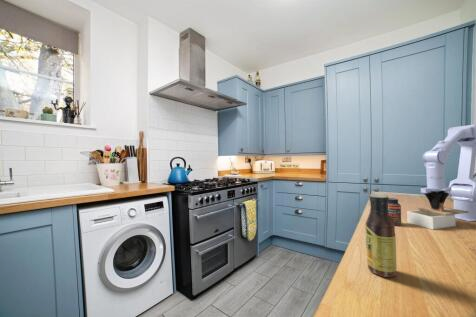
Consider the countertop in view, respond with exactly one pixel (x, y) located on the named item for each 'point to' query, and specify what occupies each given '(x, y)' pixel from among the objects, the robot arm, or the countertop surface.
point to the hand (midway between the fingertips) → (436, 208)
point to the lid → (443, 210)
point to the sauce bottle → (380, 238)
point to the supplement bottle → (394, 211)
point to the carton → (430, 219)
